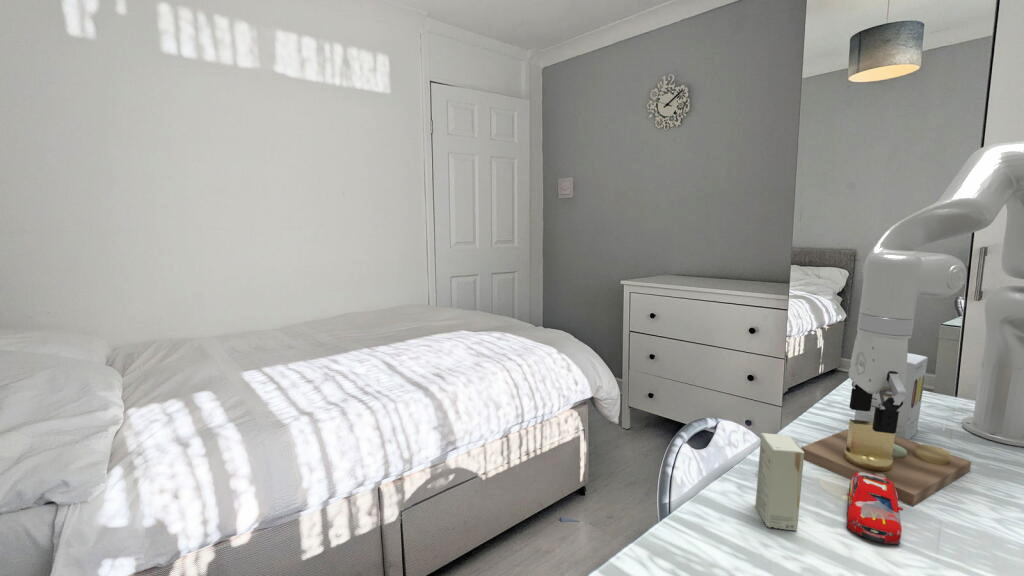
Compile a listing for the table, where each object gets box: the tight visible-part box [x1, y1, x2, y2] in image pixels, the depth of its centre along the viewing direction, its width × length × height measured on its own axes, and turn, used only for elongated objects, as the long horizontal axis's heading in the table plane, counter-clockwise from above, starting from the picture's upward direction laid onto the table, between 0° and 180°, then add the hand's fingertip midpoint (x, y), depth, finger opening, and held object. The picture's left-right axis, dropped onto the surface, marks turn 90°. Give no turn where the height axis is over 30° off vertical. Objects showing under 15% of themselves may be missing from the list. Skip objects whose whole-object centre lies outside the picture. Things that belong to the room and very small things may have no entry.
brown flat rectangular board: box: [800, 428, 972, 507], centre depth 91 cm, size 22×18×4 cm
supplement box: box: [853, 352, 928, 440], centre depth 105 cm, size 10×9×17 cm
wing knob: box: [844, 418, 895, 471], centre depth 88 cm, size 7×7×7 cm
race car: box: [846, 472, 904, 545], centre depth 76 cm, size 16×7×5 cm, turn 143°
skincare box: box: [755, 432, 805, 531], centre depth 74 cm, size 6×4×12 cm
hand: (871, 420), depth 87 cm, fingers open, 9 cm apart
